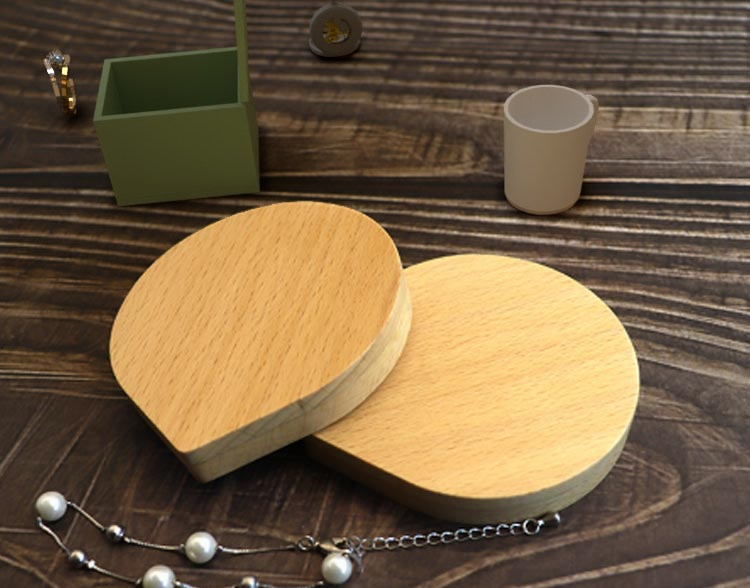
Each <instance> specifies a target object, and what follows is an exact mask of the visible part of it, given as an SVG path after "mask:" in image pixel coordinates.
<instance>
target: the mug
mask: <svg viewBox="0 0 750 588" xmlns="http://www.w3.org/2000/svg"><path fill="white" fill-rule="evenodd" d="M599 108H600V105H599V101H598V98H597V97H595V96H594V95H592V94H590V93H587V94H584V93H582V92H580V91H579V90H577V89H575V88H572V87H568V86H563V85H557V84H538V85H531V86H527V87H524V88H521V89H519V90H517V91H515V92H513V93H512V94H511V95H510V96H508V97H507V98H506V100H505V102H504V103H503V167H504V168H503V169H504V170H503V172H504V173H503V175H504V177H503V178H504V179H503V181H504V182H503V183H504V184H503V185H504V195H505V198H506V200H507V201H508V202H509V204H510V205H511V206H512V207H513V208H516V209H517V210H519V211H521V212H524V213H527V214H529V215H537V216H549V215H556V214H560V213H563V212H565V211H567V210H569V209H570V208H572V207H573V206H574V205H575V204H576V203H577V202H578V201H579V199H580V196H581V191H582V185H583V179H584V175H585V168H586V162H587V155H588V151H589V145H590V142H591V140H592V137H593V134H594V131H595V128H596V124H597V121H598V115H599V110H600V109H599Z"/></svg>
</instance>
